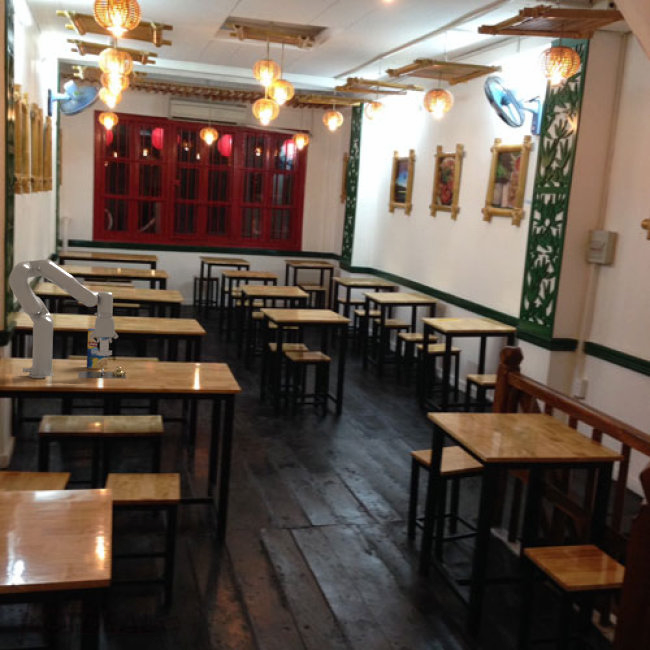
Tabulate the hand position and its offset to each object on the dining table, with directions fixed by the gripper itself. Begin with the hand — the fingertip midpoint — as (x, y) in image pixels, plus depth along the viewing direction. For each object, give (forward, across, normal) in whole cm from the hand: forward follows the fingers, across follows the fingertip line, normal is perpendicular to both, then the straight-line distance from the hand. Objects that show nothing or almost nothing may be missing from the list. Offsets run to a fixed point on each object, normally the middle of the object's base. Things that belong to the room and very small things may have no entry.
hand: (104, 349), depth 406 cm
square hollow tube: (+3, 0, 0) cm, 3 cm away
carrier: (+15, 0, 0) cm, 15 cm away
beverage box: (+15, -3, +21) cm, 26 cm away
